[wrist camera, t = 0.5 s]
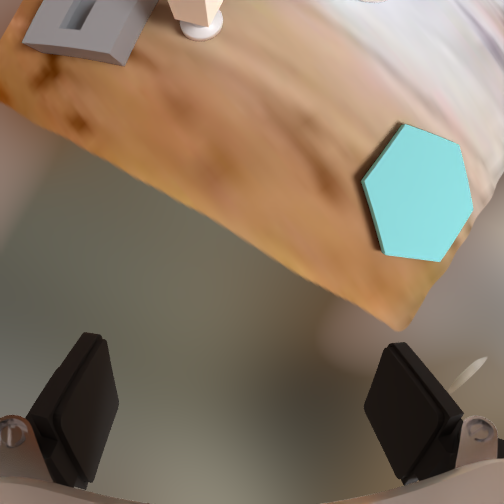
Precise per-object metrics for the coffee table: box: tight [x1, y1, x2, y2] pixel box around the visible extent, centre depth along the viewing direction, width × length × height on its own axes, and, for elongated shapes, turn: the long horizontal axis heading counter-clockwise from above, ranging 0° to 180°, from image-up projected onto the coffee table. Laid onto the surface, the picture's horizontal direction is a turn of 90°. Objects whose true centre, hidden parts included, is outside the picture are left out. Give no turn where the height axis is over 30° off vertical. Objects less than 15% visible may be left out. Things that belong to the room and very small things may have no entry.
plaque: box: [361, 124, 473, 262], centre depth 38 cm, size 18×2×20 cm
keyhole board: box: [22, 0, 158, 66], centre depth 25 cm, size 15×14×6 cm
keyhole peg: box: [168, 0, 223, 41], centre depth 25 cm, size 5×5×12 cm
